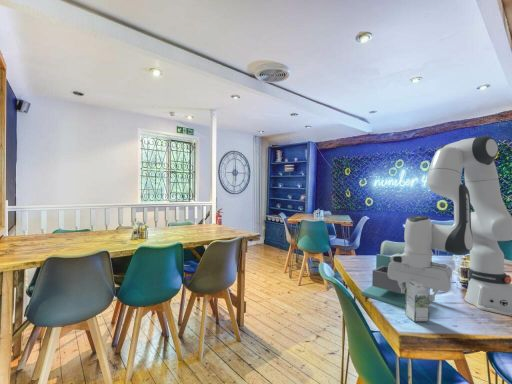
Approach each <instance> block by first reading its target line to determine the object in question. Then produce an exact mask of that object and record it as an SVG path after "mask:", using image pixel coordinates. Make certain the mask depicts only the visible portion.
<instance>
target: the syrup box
mask: <svg viewBox="0 0 512 384" xmlns="http://www.w3.org/2000/svg"><path fill="white" fill-rule="evenodd" d="M430 292H431V288H426V287H423V284H422V283H420V282H417V281H413V280H410V282H409V283H406V293H405V308H404V314H405V316H406V317H407V318H409V319H410V320H412V321H413V322H415V323H417V322H419V323H420V322H430V303H431V301H430V300H429V295H430V294H431V293H430Z"/></svg>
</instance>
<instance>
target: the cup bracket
mask: <svg viewBox="0 0 512 384" xmlns="http://www.w3.org/2000/svg"><path fill="white" fill-rule="evenodd" d="M375 256H376V260H375V261H376V262H375V263H376V264H375V265H376V266H375V269H374V268H373V270H372V274H371V275H372V279H371V280H372V283H371V286H369V287H366V288H365V289H364V290H362V291H361V296H364V297H367V298H371V299H374V300H377V301H380V302H383V303H387V304H390V305H393V306H397V307H398V308H399V307H400V308H404V309H405V294H404V293H401V288H400V287H399V285H398V281H396V280H392V279H389V277H388V266H389V263H390V262H392V261H391V260H390V257H391V256H392V255H391V256H390V255H385V254H379V253H377V254H376V255H375ZM402 284H403V286H404V288H406V283H405V282H403V283H402Z"/></svg>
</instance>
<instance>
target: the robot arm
mask: <svg viewBox="0 0 512 384" xmlns="http://www.w3.org/2000/svg"><path fill="white" fill-rule="evenodd" d="M498 154H499V145H498V142H497V141H496V139H494V138H493V137H492V136H488V135H483V136H482V135H480V136H477V137H471V138H464V139H460V140H458V141H454V142H451V143H446V144H444V145H441V146H439V147H438V148H437V149H436V150H435V152H434V155H433V157H432V159H431V162H430V165H429V168H428V173H427V176H426V177H427V178H426V185H427V187H428V189H430V191H432V192H433V193H434V194H436V195H438V196H441V197H443V198H446V199H449V200H451V201H452V202H453V216H454V217H453V221H454V222H453V224H452V225H446V224H437V223H433V222H432V221H431V218H430V217H429V216H426V215H411V216H409V217H407V218H406V220H405V225H404V235H403V236H404V238H403V239H404V243H405V247H404V248H403V252H399V253H394V254H392V255H391V257H390V260H391V261H392V262H390V263H389V266H388V277H389V279H392V280H396V281H398V285H399V287H400V288H401V293H404V294H405V293H406V288H404V286H403V284H402V283H403V282H405V283H409V282H410V280H413V281H417V282H420V283H422V284H423V287H426V288H430V290H432V292H433V293H432V294H431V293H430V295H429V300H430V302H435V300H436V295H437V294H438V293H439V291H440V292H445V293H448V292H449V291H450V290H451V288H452V282H451V277H452V276H453V275H452V274H453V273H452V272H453V271H452V268H451V267H450V266H448V265H447V264H445V263H438V262H434V261H433V250H436V251H440V252H446V253H449V254H452V255H456V256H462V255H465V254H467V253H469V267H468V270H467V280H468V284H467V288H466V289H467V290H466V293H465V296H464V298H463V299H464V301H466V302H467V303H468V304H471V305H472V306H475V307H476V308H478V309H479V310H482V311H486V312H492V313H497V314H502V315H506V316H510V317H512V284H511V282H512V278H511V276H510V274H507V273H506V272H505V254H504V252H503V250H502V249H501V248H500V245H499V243H498V242H505V241H507V242H508V241H509V242H510V241H511V240H512V215H511V214H510V213H509V211H508V209H507V207H506V205H505V202H504V200H503V198H502V193H501V187H500V180H499V174H498V170H497V167H496V162H495V161H494V160H496V158H497V156H498ZM463 167H464V168H463ZM463 169H464V175H463V174H462V173H463ZM462 175H463V176H464V184H463V182H462ZM471 206H472V208H473V211H471Z"/></svg>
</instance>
